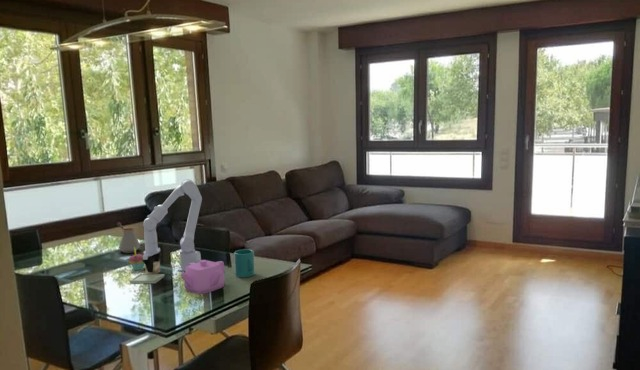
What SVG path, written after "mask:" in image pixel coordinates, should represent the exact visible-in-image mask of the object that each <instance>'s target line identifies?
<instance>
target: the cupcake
mask: <svg viewBox="0 0 640 370" xmlns="http://www.w3.org/2000/svg"><path fill="white" fill-rule="evenodd" d="M133 253H134V254H132V256H130V257H129V259H128V263H129V264H130V265H131V267H132V269H133V271H139V270H140V271H141V270H143V269H145V263H144V262H143V261H142V258H143V255H144V254H143V253H142V254H140V253H139V254H137V251H136V249H135V247H134V252H133Z"/></svg>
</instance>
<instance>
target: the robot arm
mask: <svg viewBox="0 0 640 370" xmlns="http://www.w3.org/2000/svg"><path fill="white" fill-rule="evenodd" d="M185 194H186V195H187V196H188V197H189V199H191V201H190V202H191V203H190V207H189V211H188V215H187V221H186V224H185V229H184V232H183V236H182V237H181V239H180V241H179V245H180V250H179V259H180V260H179V261H180V267H179V268H178V269H177V272H178V271H179V272H180V271H181V272H185V269H186V267H187V266H189V263H199V261H201V260H202V257H201V256H202V255H201V251H198V250H196V249H195V243H194V242H195V241H194V240H195V232H196V227H197V223H198V219H199V213H200V211H201V210H200V209H201V206H202V200H203V197H202V195H201V192H200V190H199V187H198V186H197V185H196V183H195V182H194V180H192V179H188V178H187V179H184V180H183V181H182V182H181V183H180V184H179V185H177V186H176V187H175V188H174V189H173V191H172V192H171V193H170V195H168V197H167V198H166V199H165V201H164V202H163V203H162V204H158V205H157V206H154V207H153V210H152V211H151V213H150V214H148V215H147V216H146V218H144V220H143V223H142V225H143V228H144V229H143V232H144V233H143V237H144V240H143V241H144V249H145V250H144V251H143V252H142V255H143V258H142V261H143V262H144V263H145V264H144V266H145V265H146V268H147V271H148V272H153V263H154V261H156V262H160V259H161V256H162V252H161V247H158V232H157V231H156V230H157V224H159V223H160V222H161V221H162V220H163V219H164V217H165V216H166V215H167V214H168V213H169V212H168V209H169V208H170V207H171V206H172V204H173V203H175V202H176V200H177V199H178V198H179V197H182V196H185Z"/></svg>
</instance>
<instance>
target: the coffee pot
mask: <svg viewBox="0 0 640 370" xmlns="http://www.w3.org/2000/svg"><path fill="white" fill-rule="evenodd" d="M117 225H118V226H119V227H120V228H121V229H122V232H123V234H122V238H121V240H120V242H119V246H118V249H119V251H121V252H122V253H124V254H131V253H135V252H134V247H135V249H136V252H138V250H139V249H140V248H141V244H140V242H139V240H138V238H137V237H136V234H135V233H134V232H135V231H134V230H135V228H133V227H129V228H124V226H123V225H122V223H121V222H120V221H118V222H117Z"/></svg>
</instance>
